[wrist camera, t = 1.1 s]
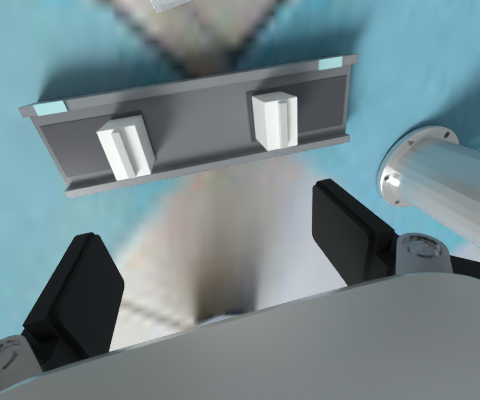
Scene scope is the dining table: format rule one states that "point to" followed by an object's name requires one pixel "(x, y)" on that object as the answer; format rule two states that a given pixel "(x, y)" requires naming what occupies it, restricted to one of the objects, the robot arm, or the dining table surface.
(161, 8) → the skincare box
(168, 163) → the switch board
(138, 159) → the tab
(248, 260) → the dining table surface
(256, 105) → the tab
